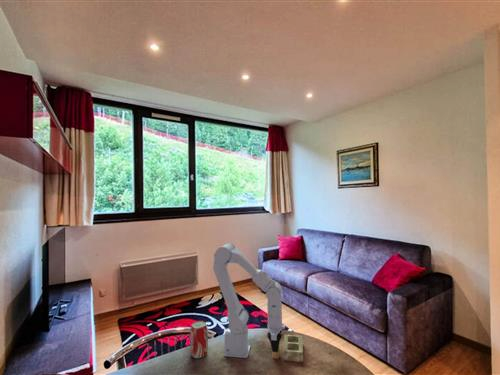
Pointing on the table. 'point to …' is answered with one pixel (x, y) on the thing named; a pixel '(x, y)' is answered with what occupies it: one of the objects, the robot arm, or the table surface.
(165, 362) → the table surface
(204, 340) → the soda can
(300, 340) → the hole block
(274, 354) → the peg
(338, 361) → the table surface
